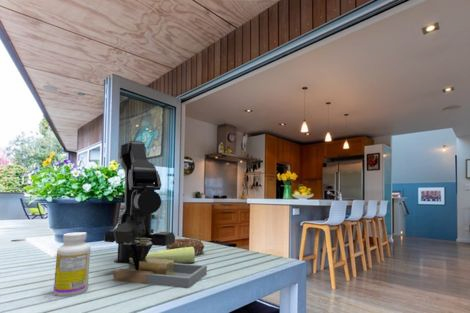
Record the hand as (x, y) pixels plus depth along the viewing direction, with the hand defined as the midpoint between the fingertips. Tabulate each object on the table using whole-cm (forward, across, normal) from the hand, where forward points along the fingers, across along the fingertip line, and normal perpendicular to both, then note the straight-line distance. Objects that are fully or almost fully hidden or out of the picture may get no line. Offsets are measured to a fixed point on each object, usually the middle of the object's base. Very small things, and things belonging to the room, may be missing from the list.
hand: (137, 269), depth 75 cm
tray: (+1, +12, 0) cm, 12 cm away
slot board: (+2, +2, 0) cm, 2 cm away
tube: (-1, +9, +18) cm, 20 cm away
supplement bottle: (+2, -7, -15) cm, 17 cm away
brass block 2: (+1, +8, 0) cm, 8 cm away
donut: (+2, 0, +30) cm, 30 cm away
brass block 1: (+1, +4, 0) cm, 4 cm away
